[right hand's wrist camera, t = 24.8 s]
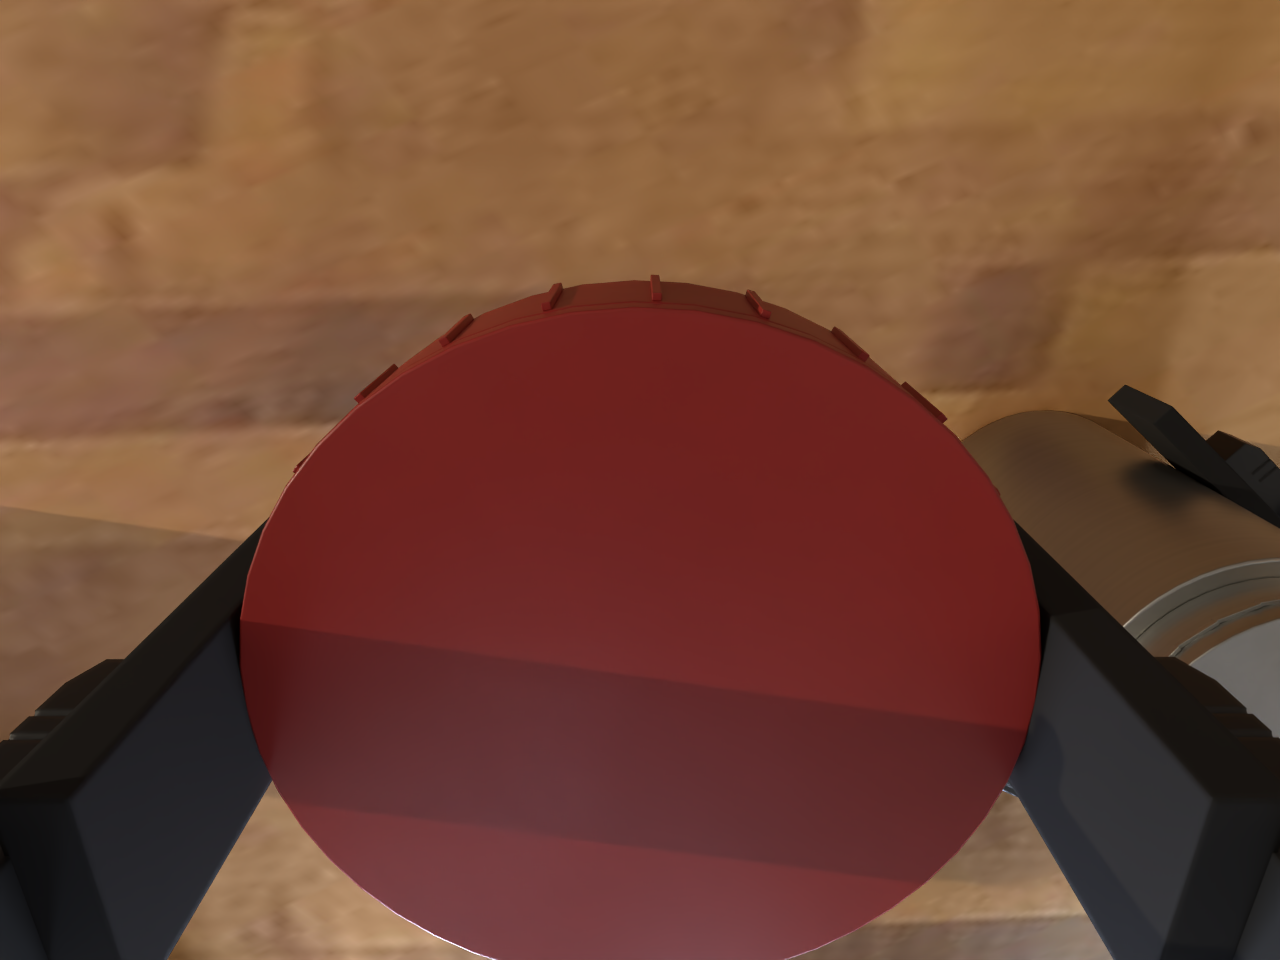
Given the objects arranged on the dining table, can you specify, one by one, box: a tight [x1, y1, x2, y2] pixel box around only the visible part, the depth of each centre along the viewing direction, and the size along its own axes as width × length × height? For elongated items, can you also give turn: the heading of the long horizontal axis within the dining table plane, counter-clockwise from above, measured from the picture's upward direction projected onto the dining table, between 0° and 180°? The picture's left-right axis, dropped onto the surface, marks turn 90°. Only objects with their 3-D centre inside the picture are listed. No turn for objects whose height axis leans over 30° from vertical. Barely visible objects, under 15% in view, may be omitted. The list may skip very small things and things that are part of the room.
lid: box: [240, 275, 1041, 960], centre depth 11 cm, size 10×10×2 cm
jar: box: [962, 411, 1280, 738], centre depth 29 cm, size 9×9×15 cm
